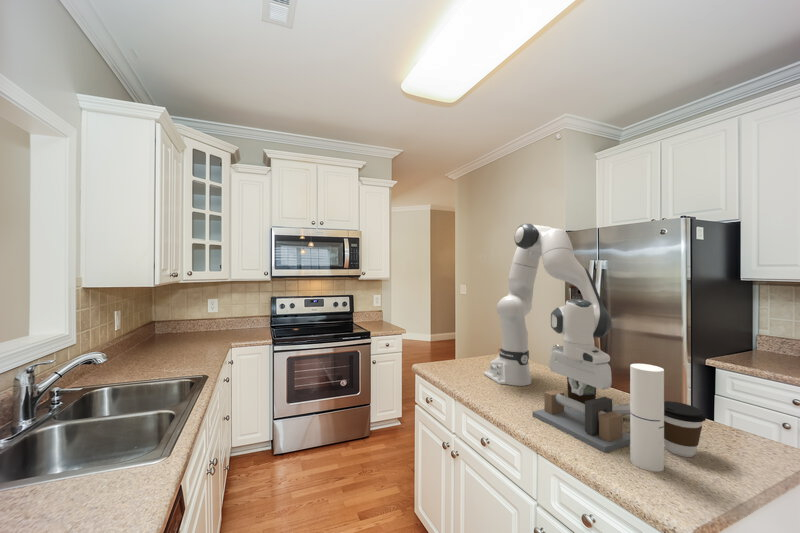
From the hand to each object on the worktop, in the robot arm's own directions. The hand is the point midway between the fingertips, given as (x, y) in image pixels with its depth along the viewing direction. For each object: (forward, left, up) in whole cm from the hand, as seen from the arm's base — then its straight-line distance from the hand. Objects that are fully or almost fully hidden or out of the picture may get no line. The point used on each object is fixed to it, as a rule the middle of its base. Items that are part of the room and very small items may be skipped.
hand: (577, 393), depth 110 cm
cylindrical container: (+22, -1, -11) cm, 24 cm away
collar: (+7, +1, -9) cm, 11 cm away
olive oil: (-14, +21, -11) cm, 28 cm away
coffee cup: (+22, +14, -11) cm, 28 cm away
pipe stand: (+1, +1, -11) cm, 11 cm away
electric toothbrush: (+2, +20, -11) cm, 23 cm away
